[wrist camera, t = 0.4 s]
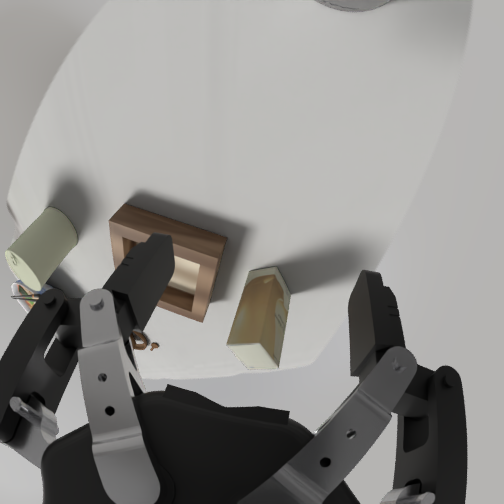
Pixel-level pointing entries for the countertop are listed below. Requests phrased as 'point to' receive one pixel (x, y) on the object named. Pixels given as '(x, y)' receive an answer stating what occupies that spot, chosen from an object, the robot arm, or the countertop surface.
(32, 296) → the ramen bowl
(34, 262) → the can
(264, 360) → the skincare box
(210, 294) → the socket block
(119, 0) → the countertop surface
